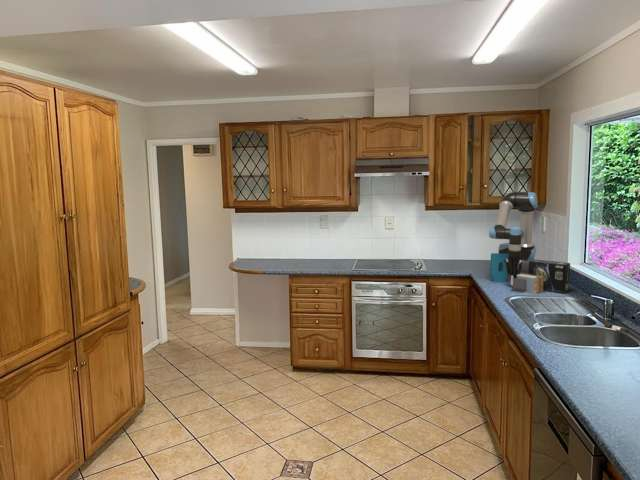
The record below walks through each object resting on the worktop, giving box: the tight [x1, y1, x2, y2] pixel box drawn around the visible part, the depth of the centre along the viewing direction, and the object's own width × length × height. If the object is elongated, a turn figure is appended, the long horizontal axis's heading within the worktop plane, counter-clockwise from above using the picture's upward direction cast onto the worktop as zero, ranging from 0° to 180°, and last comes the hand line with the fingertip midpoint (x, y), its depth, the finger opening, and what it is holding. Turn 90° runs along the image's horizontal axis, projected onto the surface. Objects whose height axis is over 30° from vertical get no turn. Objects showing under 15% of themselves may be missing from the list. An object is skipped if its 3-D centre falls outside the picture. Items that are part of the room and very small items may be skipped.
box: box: [527, 259, 571, 294], centre depth 304 cm, size 23×10×19 cm, turn 47°
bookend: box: [509, 278, 526, 294], centre depth 301 cm, size 4×8×8 cm, turn 40°
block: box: [489, 252, 509, 283], centre depth 330 cm, size 12×5×20 cm, turn 90°
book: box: [517, 273, 538, 294], centre depth 303 cm, size 5×12×10 cm, turn 41°
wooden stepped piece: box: [516, 272, 544, 295], centre depth 304 cm, size 10×19×10 cm, turn 40°
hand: (512, 285), depth 310 cm, fingers closed
